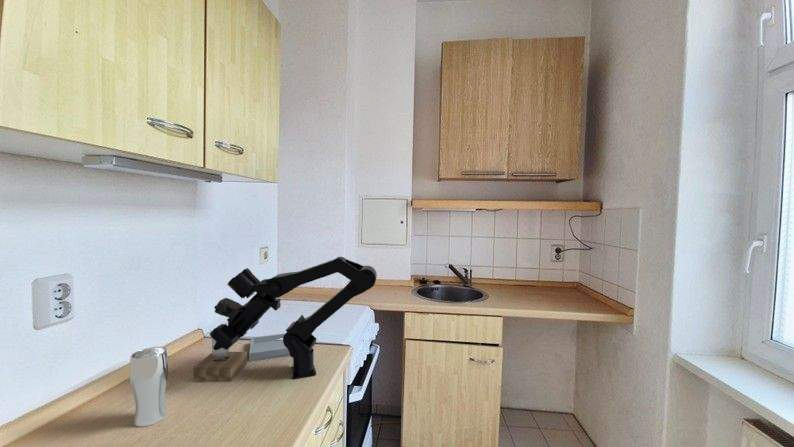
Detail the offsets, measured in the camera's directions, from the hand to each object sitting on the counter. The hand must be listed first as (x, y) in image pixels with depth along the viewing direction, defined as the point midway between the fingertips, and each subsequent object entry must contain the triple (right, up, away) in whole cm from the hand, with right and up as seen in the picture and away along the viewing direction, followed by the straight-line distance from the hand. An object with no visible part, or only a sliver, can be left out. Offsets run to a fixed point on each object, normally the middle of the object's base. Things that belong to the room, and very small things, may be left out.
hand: (216, 347), depth 95 cm
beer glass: (-3, -8, -21) cm, 23 cm away
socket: (+1, -7, 0) cm, 7 cm away
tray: (+10, -7, +16) cm, 21 cm away
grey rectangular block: (+1, -7, 0) cm, 7 cm away
